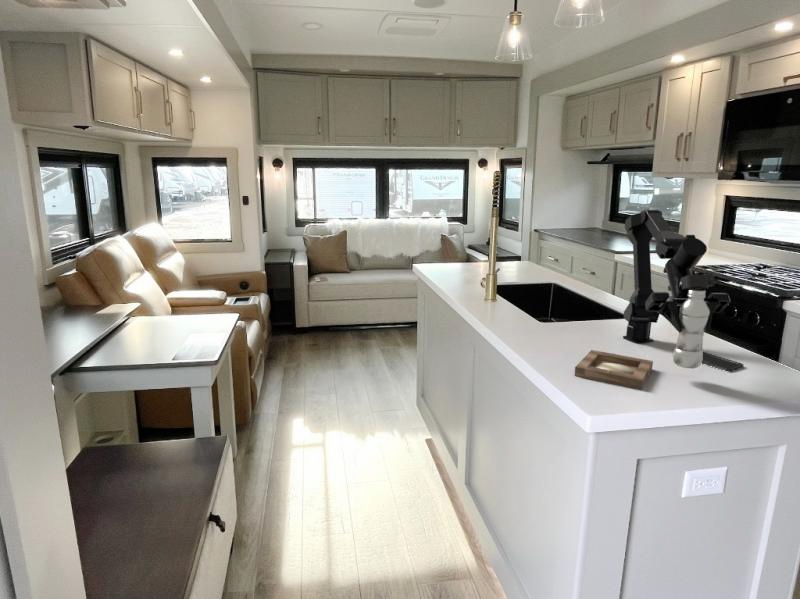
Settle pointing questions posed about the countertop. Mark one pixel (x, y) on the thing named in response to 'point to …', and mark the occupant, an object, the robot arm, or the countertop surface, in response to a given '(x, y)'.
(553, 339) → the countertop surface
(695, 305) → the plastic bottle
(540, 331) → the countertop surface
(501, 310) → the countertop surface
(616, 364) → the brown wooden frame
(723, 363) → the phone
